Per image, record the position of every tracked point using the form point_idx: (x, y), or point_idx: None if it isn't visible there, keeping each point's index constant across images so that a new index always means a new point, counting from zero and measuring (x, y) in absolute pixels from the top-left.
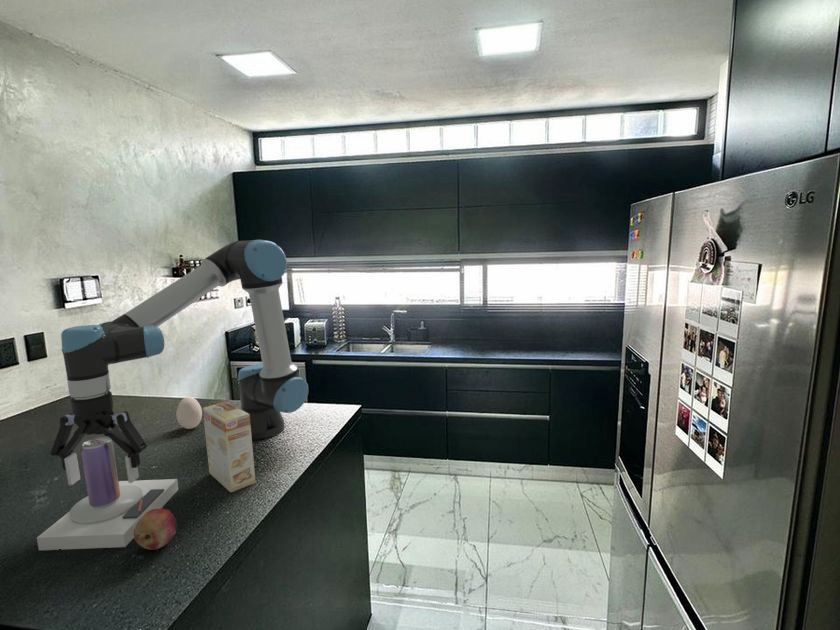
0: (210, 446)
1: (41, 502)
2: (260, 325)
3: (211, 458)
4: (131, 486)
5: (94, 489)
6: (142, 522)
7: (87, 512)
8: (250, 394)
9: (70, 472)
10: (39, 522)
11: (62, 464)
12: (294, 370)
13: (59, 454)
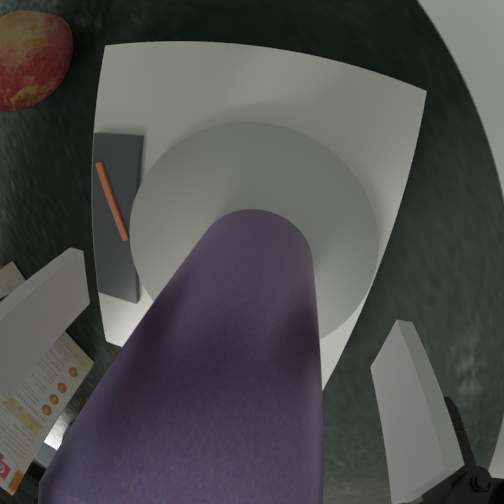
0: (27, 395)
1: (465, 353)
2: None
3: (46, 373)
4: None
5: (246, 243)
6: (5, 19)
7: (294, 188)
8: None
9: (415, 379)
10: (459, 263)
11: (463, 428)
12: None
13: (491, 489)
